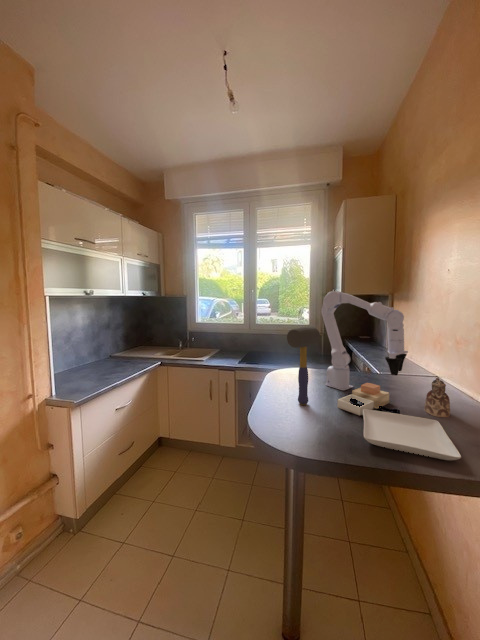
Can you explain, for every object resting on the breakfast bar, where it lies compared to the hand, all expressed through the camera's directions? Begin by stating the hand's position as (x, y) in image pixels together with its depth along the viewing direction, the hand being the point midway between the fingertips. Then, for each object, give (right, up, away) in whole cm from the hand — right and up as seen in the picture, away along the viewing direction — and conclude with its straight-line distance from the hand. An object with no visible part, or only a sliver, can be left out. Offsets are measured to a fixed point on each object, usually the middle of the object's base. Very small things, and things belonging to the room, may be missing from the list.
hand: (396, 372), depth 105 cm
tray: (-21, -11, -10) cm, 26 cm away
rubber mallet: (-40, -11, -6) cm, 42 cm away
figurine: (+5, -11, -14) cm, 19 cm away
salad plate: (-17, -13, -30) cm, 37 cm away
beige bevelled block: (-13, -11, -4) cm, 17 cm away
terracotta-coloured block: (-13, -7, -4) cm, 15 cm away
